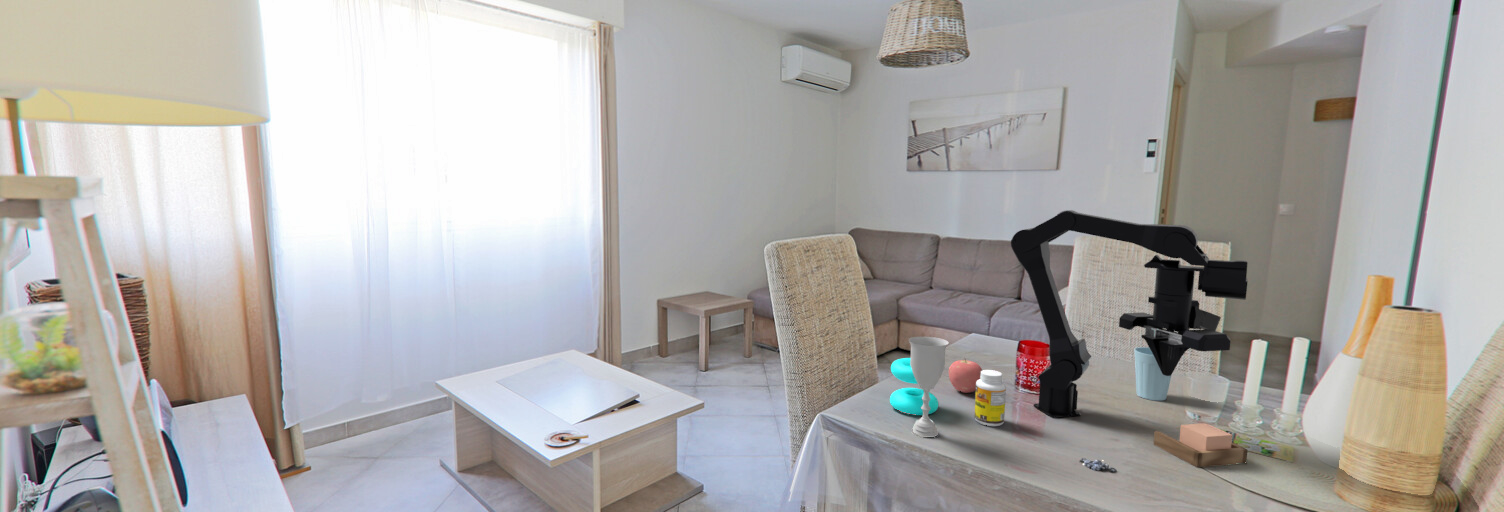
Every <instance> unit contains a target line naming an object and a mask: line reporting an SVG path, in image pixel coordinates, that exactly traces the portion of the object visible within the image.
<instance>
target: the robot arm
mask: <svg viewBox="0 0 1504 512" xmlns="http://www.w3.org/2000/svg"><path fill="white" fill-rule="evenodd" d="M1069 231H1070V232H1075V233H1080V234H1086V235H1090V236H1096V237H1101V238H1105V239H1111V240H1115V241H1121V242H1125V243H1131V244H1134V245H1137V246H1139V247H1142V248H1144V249H1147V250H1149V251H1152V252H1154V253H1157V254H1155V255H1154V256H1153V257H1152V258H1151V259H1150V260H1149V261H1147V262H1146V263H1145V264H1143V267H1144V268H1145V269H1146V268H1147V269H1156V272H1155V282H1154V283H1155V285H1154V296H1148V298H1147V299H1148V303H1150V304H1153V309H1152V310H1153V311H1152V313H1147V312H1123V314H1121V316H1120V317H1119V319H1118V321H1119V323H1118V327H1119V328H1122V329H1125V330H1128V331H1132V330H1133V329H1134V328H1135V327H1140V328H1143V329H1144V330H1145V332H1144V334H1141V338H1142V339H1143V340H1145V342H1146V344H1147V345H1148V347H1149V348H1150V350H1151V351H1152V353H1153V355H1154V357H1155V359H1156V361H1157V364H1158V366H1159V368H1160V370H1161V372H1162V374H1163V375H1165V376H1171V377H1172V375H1173V373H1174V372H1175V369H1176V367H1178V366H1177V365H1178V364H1179V362H1180V360H1181V358H1182V357H1183V356H1184V354H1185V353H1186V351H1188V350H1189V349H1191V350H1194V351H1198V352H1217V351H1222V352H1223V351H1230V350H1231V349H1230V348H1231V338H1230V337H1229V336H1228V334H1227V333H1225V332H1220V331H1217V330H1218V329H1217V328H1218V326H1219V324H1220V321H1221V319H1222V316H1219V315H1218V314H1217V315H1216V314H1214V313H1212V312H1209V311H1206V310H1203V309H1200V303H1199V300H1197V299H1193V298H1194V287H1195V273H1196V272H1198V279H1197V280H1198V282H1197V290H1198V291H1201V293H1204V296H1205V297H1207V298H1209V297H1210V298H1220V299H1230V300H1243V301H1246V300H1247V292H1248V291H1247V290H1248V282H1249V281H1248V277H1247V273H1248V264H1249V263H1248V261H1247V260H1242V259H1241V260H1240V259H1237V260H1236V259H1234V260H1222V259H1221V260H1220V259H1210V258H1209V257H1208V256H1207V253H1205V252H1204V251H1203V250H1202V248H1200V246H1199V244H1198V243H1199V242H1198V241H1199V237H1198V235H1197V232H1195V230H1194V229H1192V228H1191V227H1189V226H1187V225H1182V224H1164V223H1163V224H1162V223H1161V224H1157V223H1156V224H1153V223H1151V224H1149V223H1146V224H1145V223H1138V222H1137V223H1136V222H1132V221H1131V222H1130V221H1126V220H1120V219H1119V220H1118V219H1115V218H1110V217H1108V218H1107V217H1103V216H1099V215H1093V214H1086V213H1082V212H1077V211H1075V210H1072V209H1071V210H1063V211H1060V212H1059V213H1057V215H1055V216H1053V217H1051V218H1049V219H1048V220H1046V221H1044V222H1041V223H1040V224H1038V225H1036V226H1035V227H1031V228H1026V229H1021V230H1019V231H1016V232H1015V234H1014V235H1013V236H1012V238H1011V240H1010V246H1011V247H1010V248H1011V250H1012V251H1013V253H1014V255H1015V257H1016V259H1017V260H1018V262H1019V264H1020V265H1021V266H1022V268H1023V269H1024V270H1025V272H1026V273H1027V275H1028V278H1029V280H1030V284H1031V286H1032V289H1033V292H1034V295H1035V299H1036V302H1037V305H1038V307H1039V311H1040V314H1041V316H1042V320H1043V323H1044V327H1045V329H1046V332H1047V335H1048V338H1049V346H1048V347H1049V351H1048V352H1049V362H1050V365H1049V366H1047V367H1046V368H1045V369H1044V370H1043V371H1042V372H1041V373H1040V374H1039V375H1038V380H1039V391H1038V392H1039V394H1038V395H1039V396H1038V403H1033V407H1034V408H1036V409H1037V410H1039V411H1040V412H1043V413H1044V414H1046V415H1047V416H1049V417H1052V418H1062V417H1063V418H1064V417H1065V418H1066V417H1079V416H1081V412H1079V411H1077V409H1078V408H1077V407H1078V395H1079V391H1078V390H1077V385H1078V384H1076V383H1075V381H1078V380H1079V379H1081V377H1082V376H1083V375H1084V374H1085V372H1086V371H1087V370H1088V368H1089V366H1090V361H1089V360H1091V358H1092V355H1091V354H1090V353H1089V351H1088V349H1087V341H1086V339H1085V338H1082V339H1077V337H1076V336H1075V334H1074V333H1073V332H1072V329H1071V327H1070V323H1069V321H1068V318H1067V314H1066V311H1065V308H1064V306H1063V303H1062V299H1061V297H1060V293H1059V291H1058V288H1057V284H1056V282H1055V278H1054V275H1053V272H1052V270H1051V251H1050V245H1049V243H1050V242H1053V241H1054V240H1056V239H1058V238H1059V237H1061V236H1062V235H1064V234H1066V233H1068V232H1069ZM1159 254H1160V255H1162V256H1164V257H1167V258H1170V259H1162V258H1161V256H1160V255H1159ZM1177 259H1178V260H1177ZM1179 259H1181V260H1183V261H1184V262H1186V263H1187V264H1189V265H1181V260H1179Z"/></svg>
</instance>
